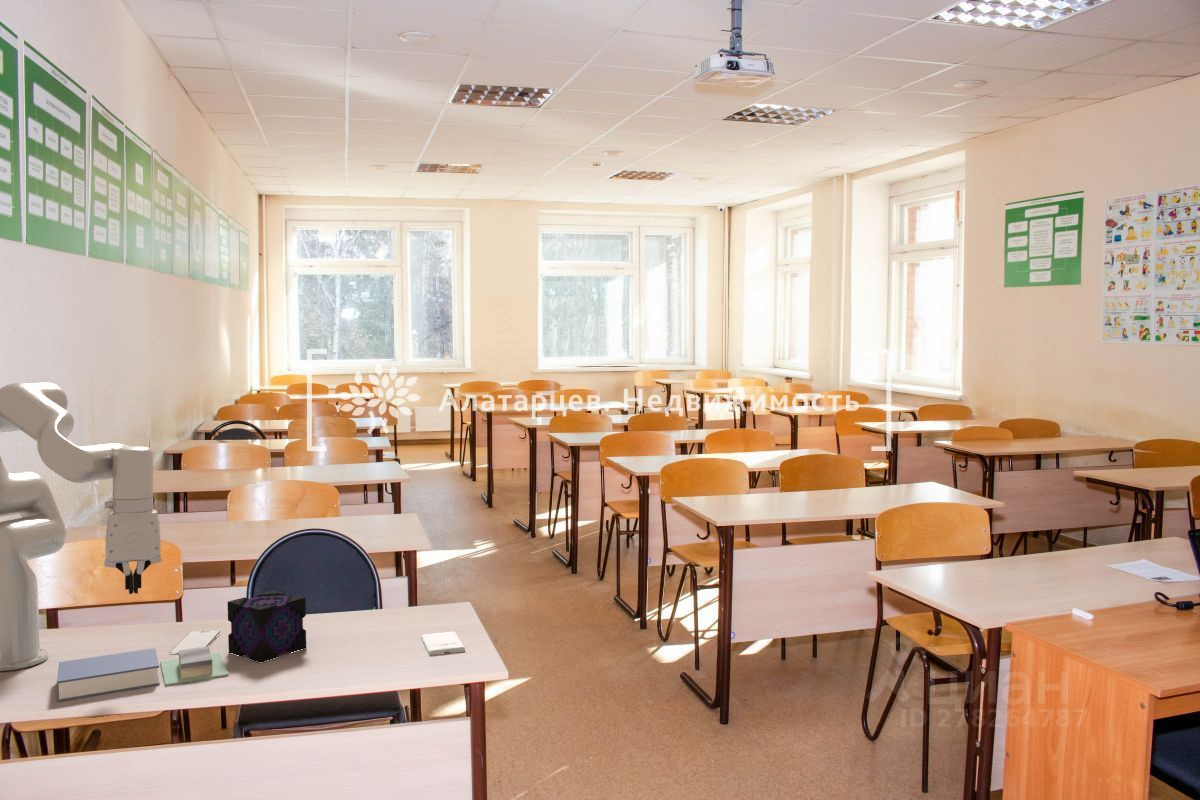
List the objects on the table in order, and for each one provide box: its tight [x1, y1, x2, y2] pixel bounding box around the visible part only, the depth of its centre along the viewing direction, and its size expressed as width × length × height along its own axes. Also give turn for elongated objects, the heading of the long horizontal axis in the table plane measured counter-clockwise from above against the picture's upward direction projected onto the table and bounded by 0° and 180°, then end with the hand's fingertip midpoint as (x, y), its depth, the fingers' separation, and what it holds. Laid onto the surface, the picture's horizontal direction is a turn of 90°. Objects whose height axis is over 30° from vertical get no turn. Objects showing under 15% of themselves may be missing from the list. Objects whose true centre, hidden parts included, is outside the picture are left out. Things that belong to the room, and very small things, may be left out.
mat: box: [160, 652, 229, 687], centre depth 193 cm, size 16×12×1 cm
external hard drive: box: [420, 631, 466, 656], centre depth 209 cm, size 2×8×12 cm
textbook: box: [56, 647, 161, 702], centre depth 185 cm, size 13×18×4 cm
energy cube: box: [227, 589, 307, 663], centre depth 205 cm, size 12×12×12 cm
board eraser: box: [178, 645, 213, 678], centre depth 192 cm, size 10×6×3 cm, turn 28°
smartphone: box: [169, 630, 221, 654], centre depth 211 cm, size 7×1×15 cm
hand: (133, 592), depth 188 cm, fingers closed
